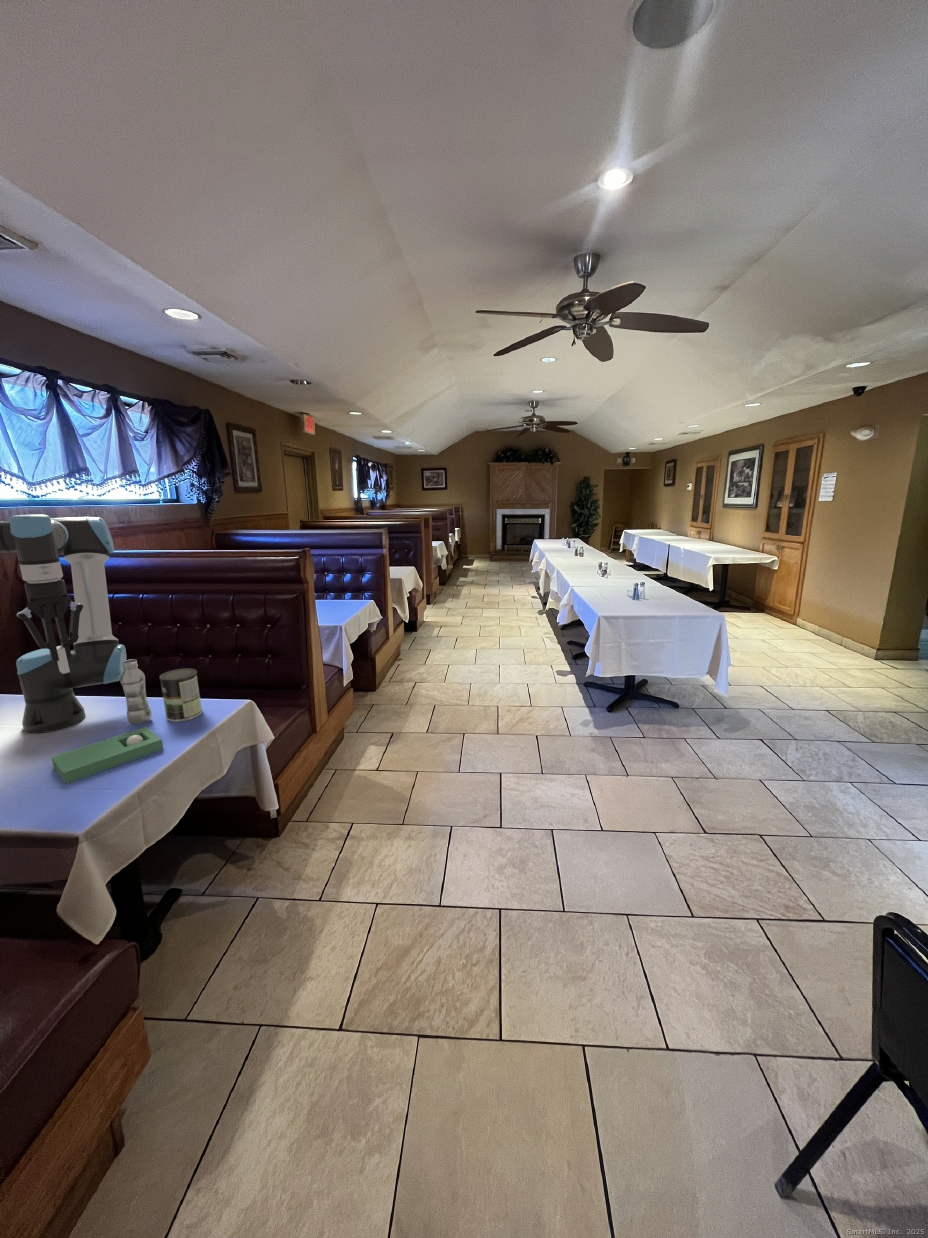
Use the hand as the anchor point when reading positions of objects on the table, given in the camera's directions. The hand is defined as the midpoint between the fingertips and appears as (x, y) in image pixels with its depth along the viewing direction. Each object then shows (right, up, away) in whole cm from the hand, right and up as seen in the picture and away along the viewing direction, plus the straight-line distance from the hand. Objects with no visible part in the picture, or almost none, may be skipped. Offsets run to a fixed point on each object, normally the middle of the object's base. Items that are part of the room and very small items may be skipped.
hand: (64, 671), depth 126 cm
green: (+6, -24, +8) cm, 26 cm away
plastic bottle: (0, -19, +29) cm, 35 cm away
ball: (+10, -21, +12) cm, 26 cm away
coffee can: (+11, -18, +34) cm, 40 cm away
